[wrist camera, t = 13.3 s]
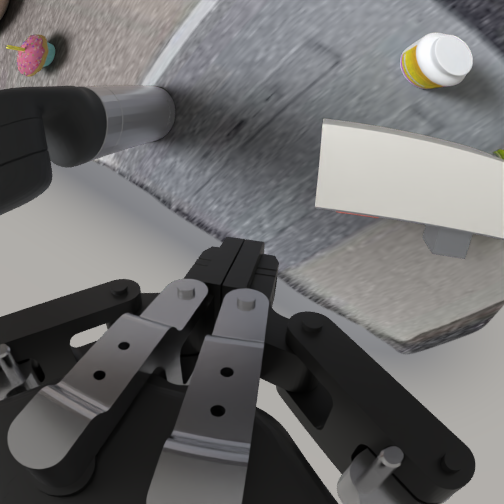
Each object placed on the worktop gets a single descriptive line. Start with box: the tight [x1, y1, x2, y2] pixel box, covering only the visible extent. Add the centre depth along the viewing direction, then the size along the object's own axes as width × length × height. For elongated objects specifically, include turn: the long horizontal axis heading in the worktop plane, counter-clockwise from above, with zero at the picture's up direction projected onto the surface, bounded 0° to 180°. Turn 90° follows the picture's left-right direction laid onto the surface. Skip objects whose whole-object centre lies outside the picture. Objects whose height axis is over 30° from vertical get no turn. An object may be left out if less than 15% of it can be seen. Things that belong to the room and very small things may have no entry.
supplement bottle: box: [400, 33, 473, 89], centre depth 28 cm, size 7×7×13 cm
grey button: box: [423, 225, 472, 259], centre depth 35 cm, size 5×6×5 cm
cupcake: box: [4, 35, 55, 76], centre depth 38 cm, size 9×8×12 cm
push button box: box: [315, 118, 504, 240], centre depth 33 cm, size 23×8×16 cm, turn 88°
